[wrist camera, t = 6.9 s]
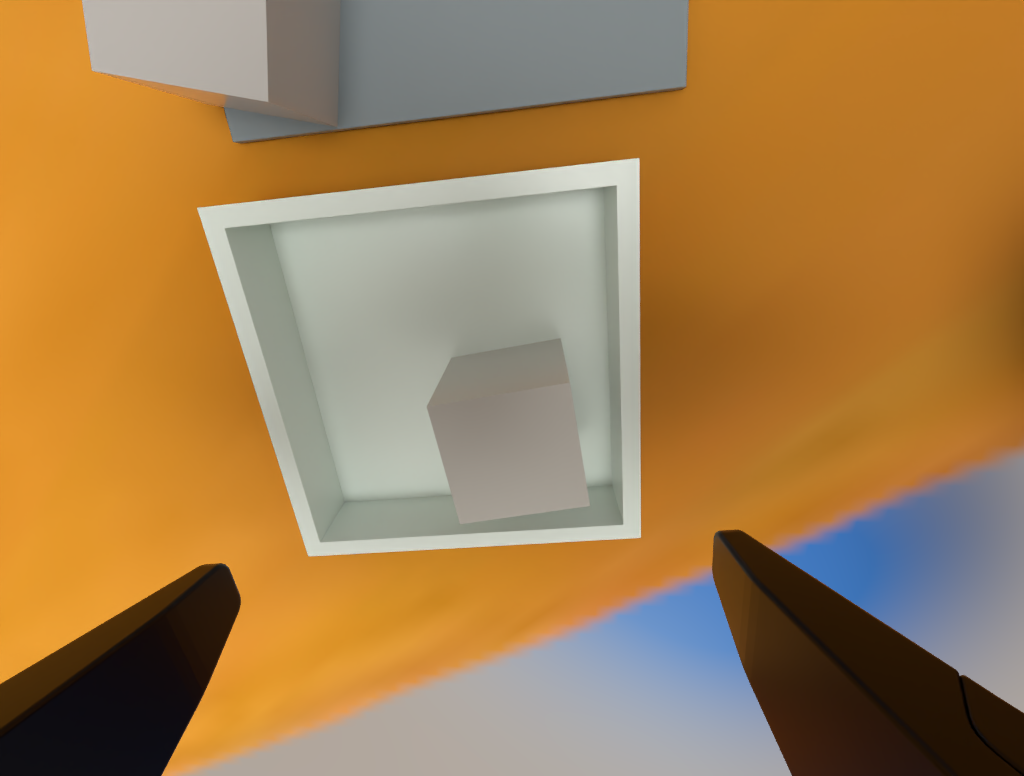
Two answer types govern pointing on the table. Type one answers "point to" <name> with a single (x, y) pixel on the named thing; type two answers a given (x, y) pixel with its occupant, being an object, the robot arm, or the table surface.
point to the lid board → (489, 59)
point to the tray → (435, 341)
